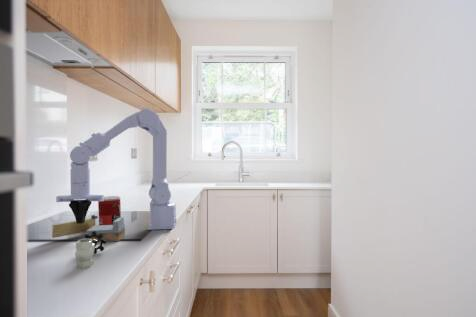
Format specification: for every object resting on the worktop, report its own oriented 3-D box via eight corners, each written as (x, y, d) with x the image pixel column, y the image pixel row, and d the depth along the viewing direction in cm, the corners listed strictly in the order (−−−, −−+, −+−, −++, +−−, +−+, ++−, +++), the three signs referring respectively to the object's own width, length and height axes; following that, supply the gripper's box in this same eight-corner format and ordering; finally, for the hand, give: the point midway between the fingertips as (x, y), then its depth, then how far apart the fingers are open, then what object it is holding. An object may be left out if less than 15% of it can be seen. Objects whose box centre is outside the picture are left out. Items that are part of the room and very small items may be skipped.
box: (125, 235, 105) (124, 227, 105) (118, 241, 98) (118, 233, 98) (94, 236, 104) (94, 228, 104) (86, 242, 97) (86, 234, 97)
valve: (97, 268, 76) (107, 252, 88) (96, 242, 76) (106, 229, 87) (68, 271, 74) (82, 254, 86) (67, 244, 74) (81, 231, 86)
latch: (98, 229, 107) (98, 215, 107) (53, 238, 97) (52, 222, 97) (96, 228, 109) (96, 214, 108) (51, 236, 99) (51, 221, 99)
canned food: (116, 228, 114) (115, 199, 114) (95, 228, 114) (94, 199, 114) (124, 223, 122) (123, 195, 121) (104, 223, 122) (103, 196, 121)
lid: (124, 227, 104) (124, 217, 104) (118, 232, 98) (118, 221, 98) (94, 228, 104) (94, 218, 103) (86, 233, 97) (86, 222, 97)
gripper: (51, 184, 97) (51, 226, 98) (98, 183, 99) (98, 225, 99) (61, 182, 104) (62, 221, 105) (105, 181, 106) (106, 220, 106)
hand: (80, 223), depth 102 cm, fingers closed
